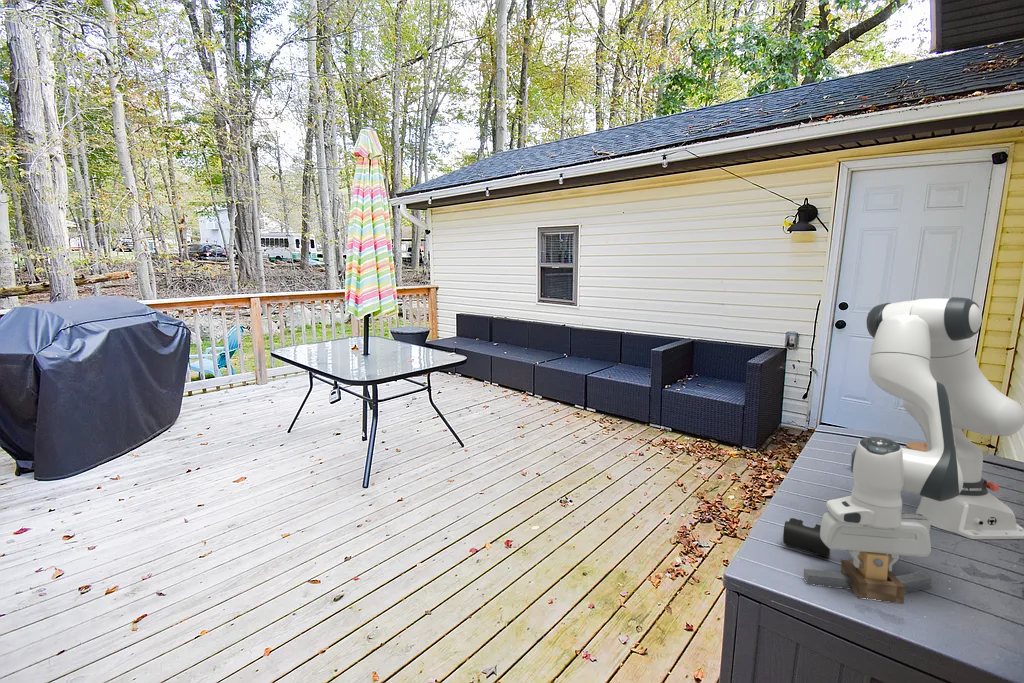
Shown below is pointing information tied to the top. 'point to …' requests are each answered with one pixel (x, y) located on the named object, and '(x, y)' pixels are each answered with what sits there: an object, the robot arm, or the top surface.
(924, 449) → the lidded jar
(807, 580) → the steel shafts
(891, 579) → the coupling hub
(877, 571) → the block
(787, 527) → the end cap
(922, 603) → the top surface
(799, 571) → the top surface
